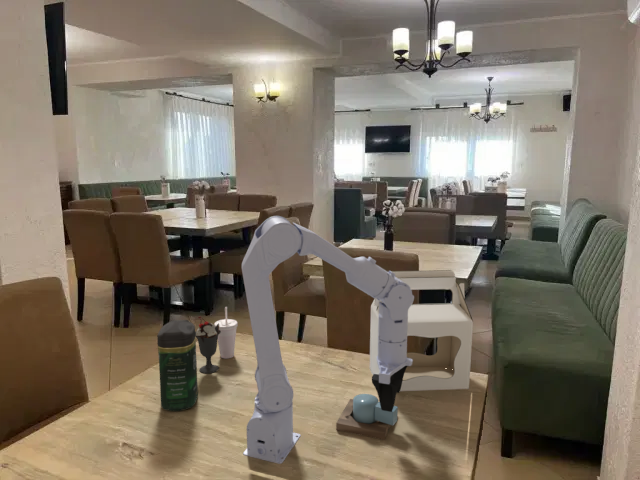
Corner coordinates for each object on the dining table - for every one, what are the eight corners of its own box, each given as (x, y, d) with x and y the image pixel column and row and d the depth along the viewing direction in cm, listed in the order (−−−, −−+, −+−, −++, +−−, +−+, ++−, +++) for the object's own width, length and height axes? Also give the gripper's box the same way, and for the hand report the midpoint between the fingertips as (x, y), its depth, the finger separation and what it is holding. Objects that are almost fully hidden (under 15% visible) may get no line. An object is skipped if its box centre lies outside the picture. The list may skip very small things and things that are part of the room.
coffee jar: (195, 411, 101) (191, 331, 98) (158, 414, 100) (152, 333, 97) (200, 389, 111) (197, 316, 107) (166, 392, 110) (161, 317, 106)
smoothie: (241, 351, 132) (239, 304, 130) (235, 361, 126) (233, 312, 124) (219, 350, 133) (217, 303, 130) (212, 360, 127) (210, 311, 124)
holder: (384, 442, 90) (385, 432, 90) (336, 431, 94) (336, 422, 93) (394, 415, 100) (394, 407, 99) (350, 407, 103) (350, 398, 103)
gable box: (378, 394, 109) (381, 279, 104) (368, 368, 122) (370, 265, 117) (470, 390, 110) (477, 277, 105) (451, 365, 123) (456, 263, 118)
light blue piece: (348, 424, 95) (348, 402, 95) (359, 412, 100) (360, 391, 99) (389, 438, 91) (390, 415, 90) (399, 425, 95) (400, 403, 94)
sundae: (190, 373, 119) (187, 317, 116) (204, 362, 125) (202, 309, 123) (213, 376, 117) (211, 320, 114) (226, 365, 123) (224, 311, 121)
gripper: (406, 354, 83) (404, 423, 86) (418, 327, 97) (416, 387, 99) (368, 349, 86) (367, 416, 88) (385, 323, 99) (383, 381, 102)
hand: (390, 400), depth 94 cm, fingers open, 7 cm apart
